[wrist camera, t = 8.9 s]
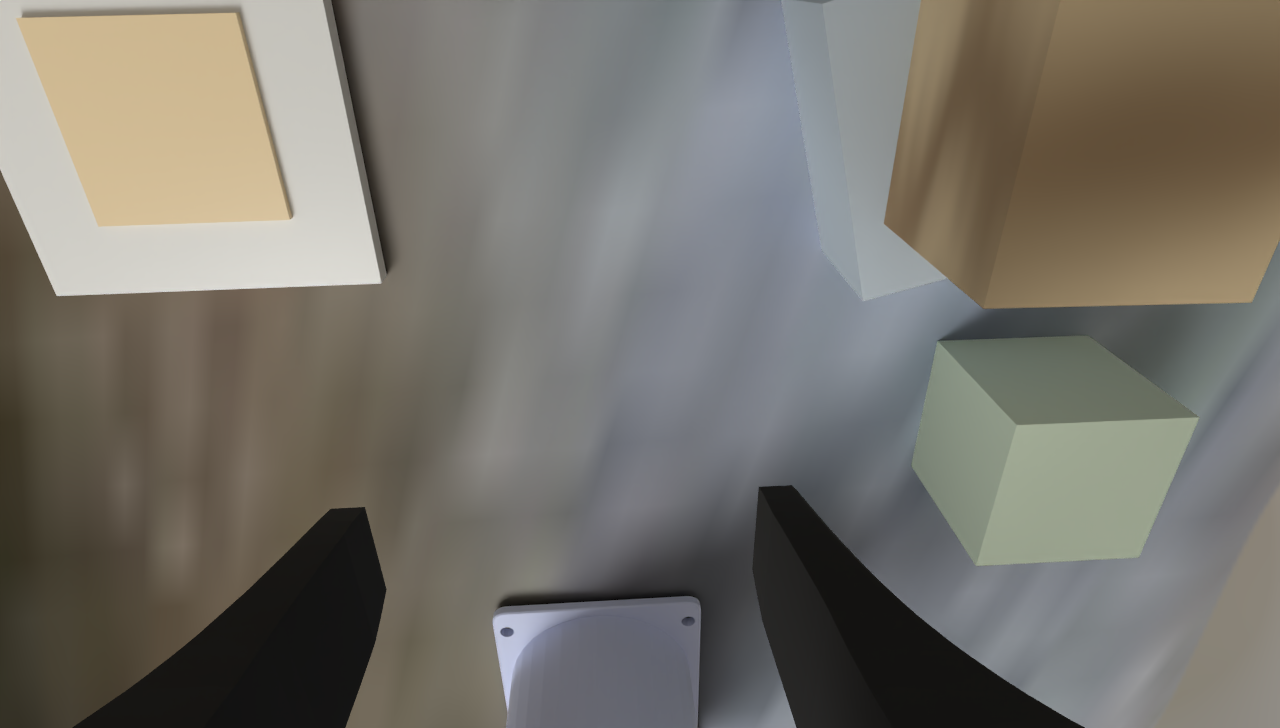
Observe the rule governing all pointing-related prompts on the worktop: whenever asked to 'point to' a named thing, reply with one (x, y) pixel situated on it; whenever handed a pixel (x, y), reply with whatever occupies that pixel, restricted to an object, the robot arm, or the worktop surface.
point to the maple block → (1092, 150)
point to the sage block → (1046, 449)
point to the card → (184, 145)
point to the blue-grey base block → (855, 132)
